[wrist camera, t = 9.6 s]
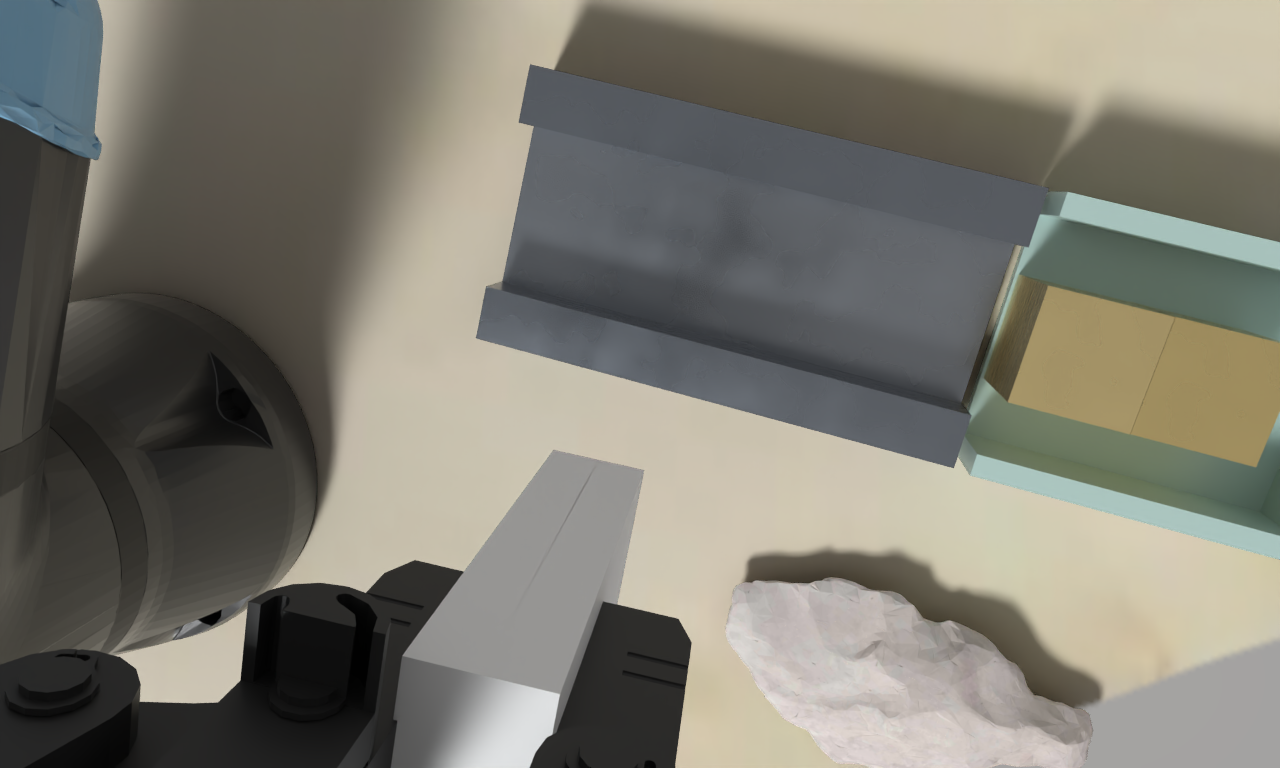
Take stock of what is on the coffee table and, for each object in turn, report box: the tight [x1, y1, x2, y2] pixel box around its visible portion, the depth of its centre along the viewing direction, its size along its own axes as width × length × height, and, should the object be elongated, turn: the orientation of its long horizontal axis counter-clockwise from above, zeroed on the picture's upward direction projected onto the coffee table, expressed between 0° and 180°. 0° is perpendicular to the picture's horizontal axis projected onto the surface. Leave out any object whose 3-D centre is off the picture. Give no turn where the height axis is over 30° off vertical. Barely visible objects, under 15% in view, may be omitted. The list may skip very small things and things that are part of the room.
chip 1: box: [984, 274, 1175, 434], centre depth 32 cm, size 4×4×4 cm
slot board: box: [476, 64, 1049, 468], centre depth 34 cm, size 18×10×3 cm, turn 77°
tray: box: [958, 191, 1280, 560], centre depth 32 cm, size 12×10×3 cm
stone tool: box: [725, 577, 1093, 768], centre depth 37 cm, size 8×3×15 cm
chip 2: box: [1130, 302, 1280, 467], centre depth 31 cm, size 4×4×4 cm
